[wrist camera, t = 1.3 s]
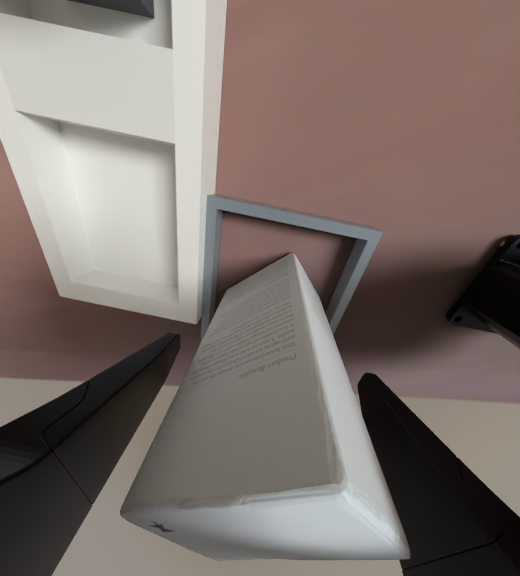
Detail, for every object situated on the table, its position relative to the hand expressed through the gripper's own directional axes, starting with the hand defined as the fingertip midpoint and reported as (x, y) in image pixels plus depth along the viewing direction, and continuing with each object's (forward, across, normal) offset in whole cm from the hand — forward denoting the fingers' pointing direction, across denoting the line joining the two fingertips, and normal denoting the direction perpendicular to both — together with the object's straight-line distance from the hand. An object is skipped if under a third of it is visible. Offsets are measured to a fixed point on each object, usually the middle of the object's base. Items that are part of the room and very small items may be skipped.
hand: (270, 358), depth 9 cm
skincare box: (+7, 0, 0) cm, 7 cm away
